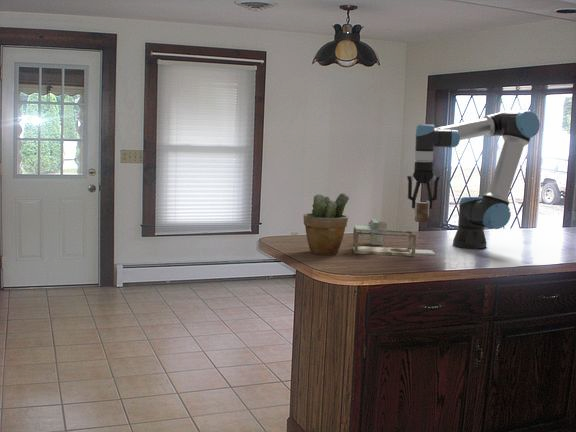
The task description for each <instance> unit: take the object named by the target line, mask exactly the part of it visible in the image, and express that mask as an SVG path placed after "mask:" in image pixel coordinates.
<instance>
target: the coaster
mask: <svg viewBox="0 0 576 432" xmlns="http://www.w3.org/2000/svg"><path fill="white" fill-rule="evenodd" d="M411 250H412V248H411ZM415 255H425V256H426V255H427V256H436V253H435V252H434V251H433V250H431V249H417V248H415Z"/></svg>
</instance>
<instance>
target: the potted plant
mask: <svg viewBox="0 0 576 432" xmlns="http://www.w3.org/2000/svg"><path fill="white" fill-rule="evenodd" d="M349 200H350V197H349V195H347V194H346V193H344V192H342V193H339V195H338V196H337V197H336V200H331V199H330V197H329V196H324V195H323V194H320V193H318V194H315V195H314V196H313V203H312V210H311V212H308V213H307V212H306V213H303V214H302V215H303V224H304V228H305V234H306V240H307V244H308V248H309V252H310V253H311V254H314V255H318V254H319V255H320V256H333V255H337V254H338V253H339V250H340V247H341V246H342V245H341V244H342V241H343V239H344V234H345V232H346V228H347V225H348V220H349V216H348V215H346V214H343V213H344V210H345V208H346V204H347V203H348V201H349Z"/></svg>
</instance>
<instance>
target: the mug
mask: <svg viewBox="0 0 576 432" xmlns="http://www.w3.org/2000/svg"><path fill="white" fill-rule="evenodd" d="M377 221H378V220H377ZM378 223H379V227H378V230H387V226H388V222H386V221H385V222H384V221H380V220H379V221H378ZM363 226H371V220H370V221H368V224H364V225H363ZM368 233H387V232H379V231H378V232H368ZM363 235H364V234H359V237H360V238H361V239H362V240H365V241H366V240H367V241H369V244H370V245H373V246H383V245H384V244H385V243H384V241H385V237H386V235H369V236H368V237H365V236H363Z"/></svg>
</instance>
